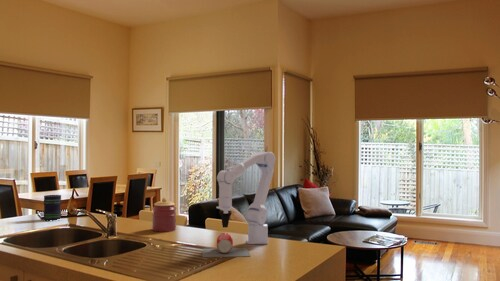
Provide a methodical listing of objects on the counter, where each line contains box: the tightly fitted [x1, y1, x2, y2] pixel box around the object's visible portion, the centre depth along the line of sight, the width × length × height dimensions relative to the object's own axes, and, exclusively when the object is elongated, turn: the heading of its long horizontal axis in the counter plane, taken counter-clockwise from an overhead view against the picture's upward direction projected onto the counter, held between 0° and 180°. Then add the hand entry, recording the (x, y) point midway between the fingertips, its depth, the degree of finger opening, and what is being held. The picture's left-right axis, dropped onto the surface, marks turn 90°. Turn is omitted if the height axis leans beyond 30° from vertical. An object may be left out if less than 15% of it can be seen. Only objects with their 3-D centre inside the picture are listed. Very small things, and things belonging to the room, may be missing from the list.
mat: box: [201, 247, 251, 258], centre depth 181 cm, size 20×14×1 cm
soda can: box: [216, 232, 234, 253], centre depth 183 cm, size 7×7×12 cm
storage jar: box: [43, 194, 62, 221], centre depth 260 cm, size 10×10×15 cm
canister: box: [151, 197, 177, 233], centre depth 232 cm, size 13×13×18 cm
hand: (225, 227), depth 190 cm, fingers closed
